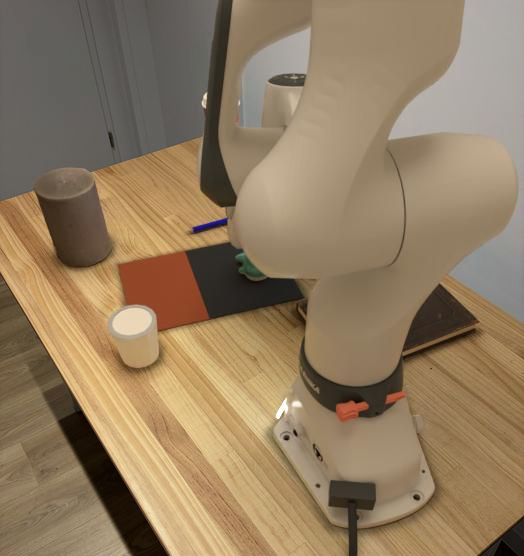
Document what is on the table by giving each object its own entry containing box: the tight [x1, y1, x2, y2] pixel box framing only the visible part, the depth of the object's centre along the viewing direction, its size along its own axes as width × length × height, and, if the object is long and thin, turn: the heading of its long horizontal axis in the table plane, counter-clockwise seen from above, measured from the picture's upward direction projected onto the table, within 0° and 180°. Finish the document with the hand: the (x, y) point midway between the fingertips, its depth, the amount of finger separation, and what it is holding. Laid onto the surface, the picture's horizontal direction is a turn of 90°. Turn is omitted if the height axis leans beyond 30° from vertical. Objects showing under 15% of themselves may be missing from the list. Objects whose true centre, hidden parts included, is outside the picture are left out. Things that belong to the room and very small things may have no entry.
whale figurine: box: [235, 253, 268, 281], centre depth 94 cm, size 6×7×4 cm
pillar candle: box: [33, 167, 112, 268], centre depth 94 cm, size 10×10×15 cm
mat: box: [117, 241, 305, 332], centre depth 94 cm, size 18×28×1 cm, turn 108°
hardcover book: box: [295, 282, 480, 361], centre depth 86 cm, size 16×23×2 cm
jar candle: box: [107, 305, 160, 369], centre depth 80 cm, size 7×7×7 cm
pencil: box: [187, 217, 228, 233], centre depth 104 cm, size 17×1×1 cm, turn 116°
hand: (287, 255), depth 95 cm, fingers closed
